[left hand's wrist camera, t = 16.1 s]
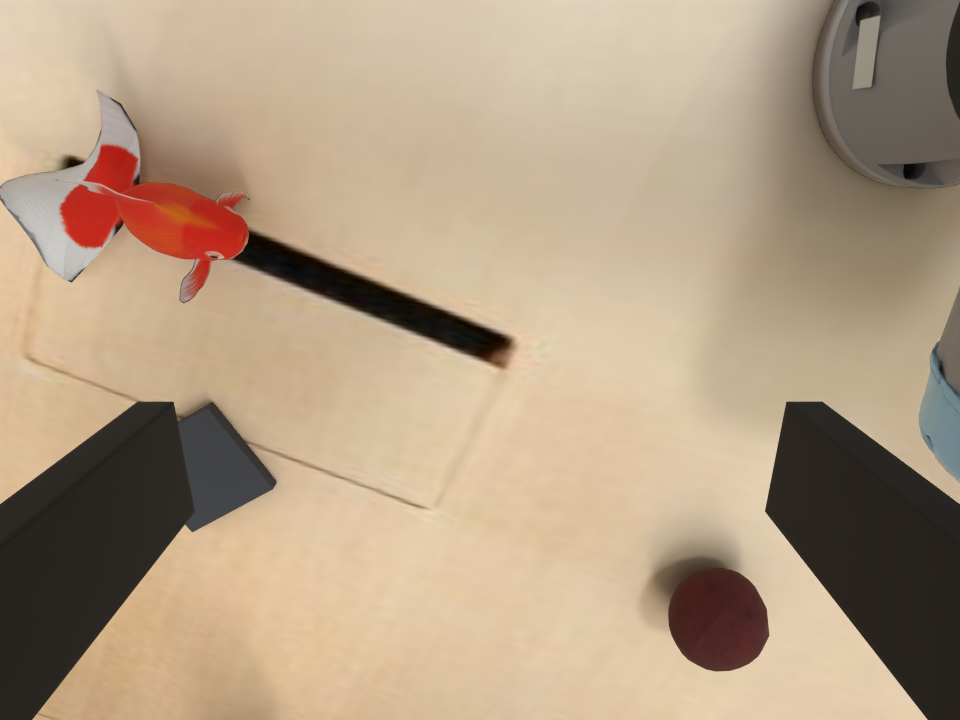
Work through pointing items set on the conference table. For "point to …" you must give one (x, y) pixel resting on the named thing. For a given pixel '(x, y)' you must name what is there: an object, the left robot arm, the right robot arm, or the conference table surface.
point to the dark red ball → (718, 620)
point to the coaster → (219, 467)
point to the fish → (122, 209)
